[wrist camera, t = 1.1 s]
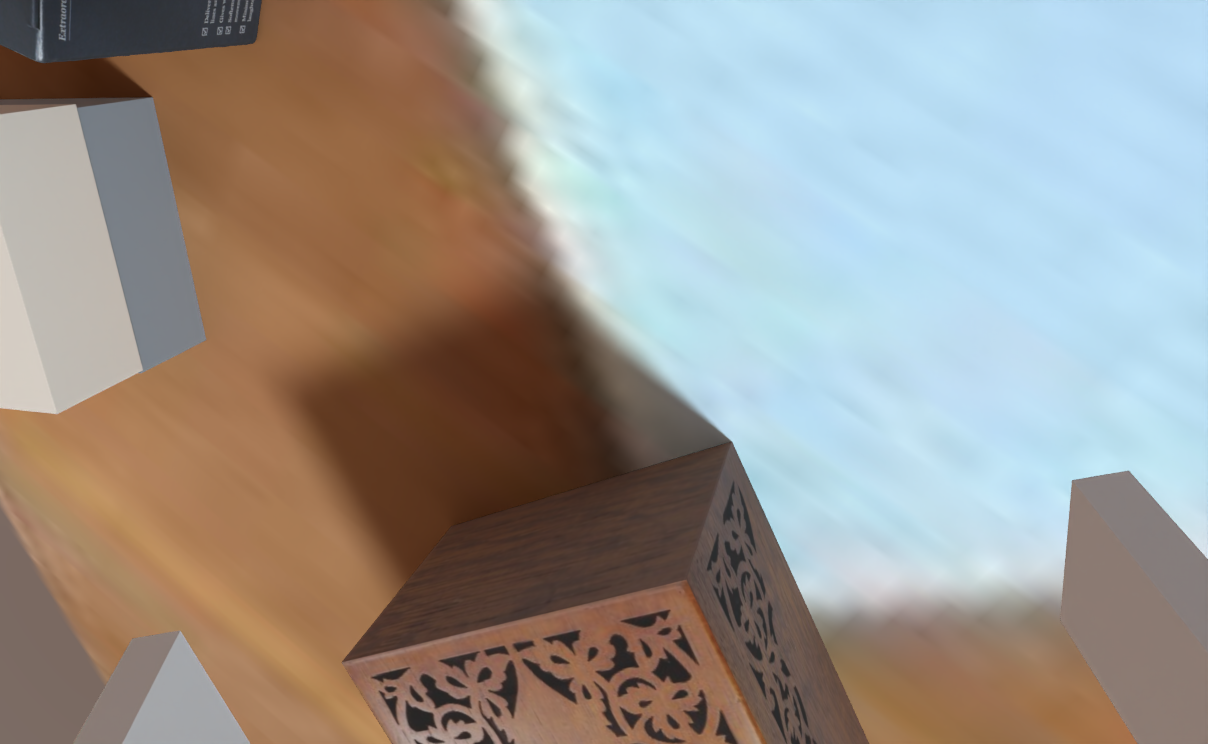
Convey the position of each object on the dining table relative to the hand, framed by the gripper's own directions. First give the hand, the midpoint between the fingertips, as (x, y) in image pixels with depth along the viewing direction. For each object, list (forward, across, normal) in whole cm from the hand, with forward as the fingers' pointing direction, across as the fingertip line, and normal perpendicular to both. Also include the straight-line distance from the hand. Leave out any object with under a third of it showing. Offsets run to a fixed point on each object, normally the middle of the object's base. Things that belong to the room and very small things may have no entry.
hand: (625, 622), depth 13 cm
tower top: (+26, -25, +1) cm, 37 cm away
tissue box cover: (+19, 0, -26) cm, 32 cm away
